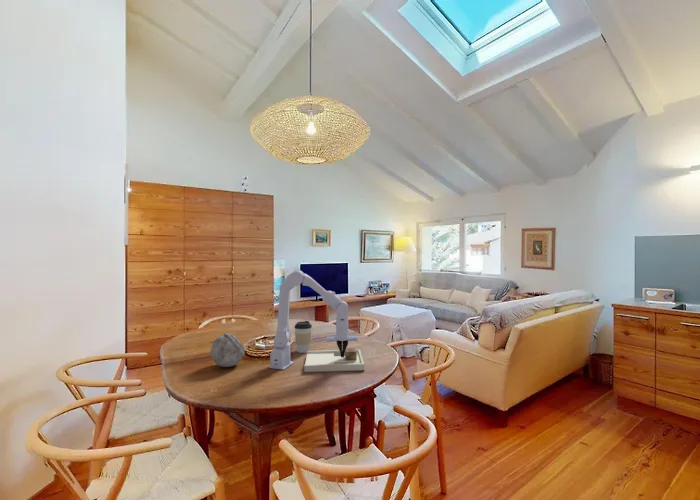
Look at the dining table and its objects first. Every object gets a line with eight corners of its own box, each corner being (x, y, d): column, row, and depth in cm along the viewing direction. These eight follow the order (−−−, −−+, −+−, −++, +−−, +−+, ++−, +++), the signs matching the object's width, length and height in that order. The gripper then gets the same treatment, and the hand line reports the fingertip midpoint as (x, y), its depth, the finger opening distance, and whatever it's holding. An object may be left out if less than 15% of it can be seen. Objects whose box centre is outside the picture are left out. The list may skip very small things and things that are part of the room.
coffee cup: (303, 354, 161) (303, 325, 161) (290, 351, 166) (290, 322, 166) (315, 350, 168) (315, 321, 168) (303, 347, 173) (303, 319, 173)
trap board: (304, 372, 138) (304, 365, 138) (307, 356, 158) (307, 350, 158) (364, 371, 139) (364, 364, 139) (360, 355, 159) (360, 349, 159)
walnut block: (345, 360, 147) (345, 351, 147) (345, 356, 152) (345, 348, 152) (356, 360, 147) (356, 351, 147) (355, 356, 152) (355, 348, 152)
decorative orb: (249, 366, 145) (249, 333, 145) (217, 375, 136) (216, 339, 136) (237, 358, 156) (236, 327, 156) (206, 365, 147) (205, 333, 147)
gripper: (326, 330, 144) (326, 360, 144) (358, 329, 145) (358, 359, 145) (326, 326, 151) (326, 354, 151) (357, 325, 152) (357, 354, 152)
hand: (342, 356), depth 149 cm, fingers closed
